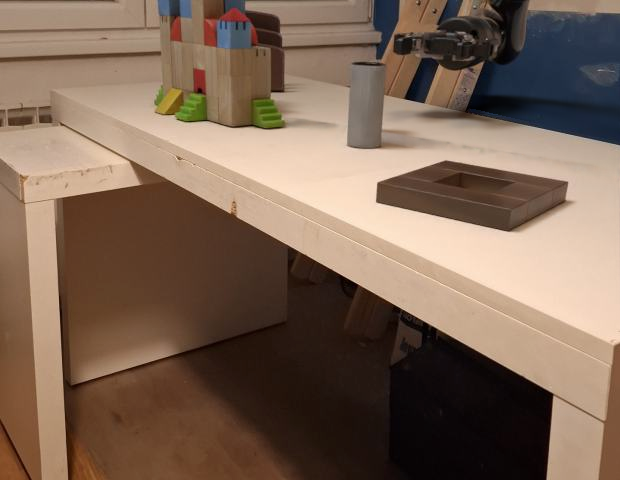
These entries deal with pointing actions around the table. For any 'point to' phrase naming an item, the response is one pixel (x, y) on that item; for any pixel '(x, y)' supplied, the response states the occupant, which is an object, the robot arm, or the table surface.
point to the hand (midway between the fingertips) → (428, 49)
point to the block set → (214, 65)
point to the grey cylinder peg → (366, 104)
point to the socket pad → (473, 193)
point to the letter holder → (270, 44)
